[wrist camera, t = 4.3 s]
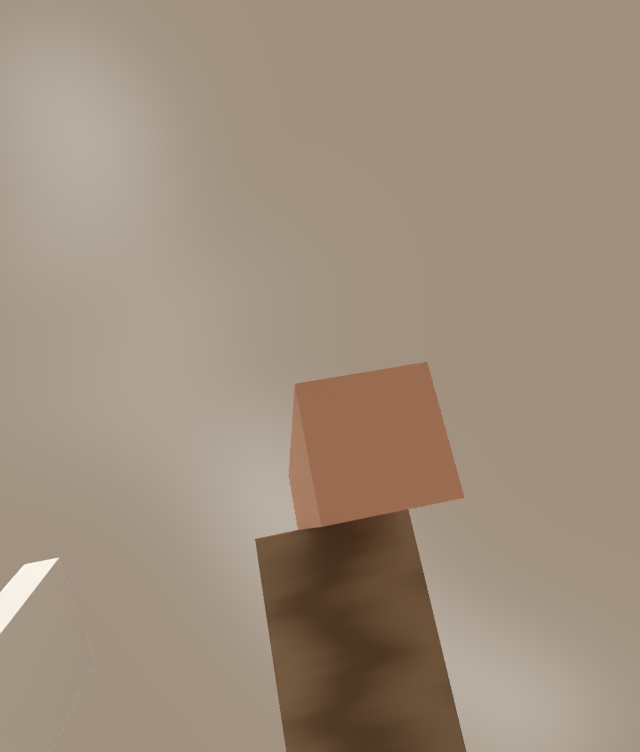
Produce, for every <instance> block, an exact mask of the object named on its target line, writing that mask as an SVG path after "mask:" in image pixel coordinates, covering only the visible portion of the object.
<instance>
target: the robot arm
mask: <svg viewBox="0 0 640 752" xmlns="http://www.w3.org/2000/svg"><path fill="white" fill-rule="evenodd" d="M95 661H96V659H95V656H94V654H93V651H92V648H91V645H90V642H89V639H88V637H87V634H86V631H85V628H84V625H83V623H82V620H81V617H80V615H79V612H78V609H77V606H76V603H75V600H74V598H73V595H72V592H71V589H70V586H69V583H68V581H67V578H66V575H65V572H64V569H63V567H62V564H61V561H60V558H54V559H50V560H45V561H40V562H35V563H30V564H25V565H24V566H23V567H22V568H21V569H20V570H19V571H18V573H17V574H16V575H15V576H14V577H13V578H12V580H11V581H10V582H9V583H8V584H7V585H6V587H4V589H3V590H2V591H1V592H0V752H52V751H53V748H54V747H55V744H56V742H57V740H58V738H59V736H60V734H61V732H62V730H63V728H64V726H65V724H66V722H67V720H68V717H69V715H70V713H71V711H72V709H73V707H74V705H75V703H76V701H77V699H78V697H79V695H80V693H81V690H82V688H83V686H84V684H85V682H86V680H87V678H88V676H89V674H90V672H91V670H92V668H93V666H94V663H95Z"/></svg>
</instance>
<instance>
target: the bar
mask: <svg viewBox="0 0 640 752" xmlns="http://www.w3.org/2000/svg"><path fill="white" fill-rule="evenodd" d="M289 480H290V486H291V492H292V497H293V503H294V509H295V515H296V520H297V526H298V530H300V529H308V528H317V527H324V526H328V525H333V524H338V523H343V522H348V521H353V520H358V519H363V518H368V517H372V516H377V515H382V514H387V513H392V512H397V511H402V510H407V509H411V508H417V507H421V506H426V505H431V504H436V503H441V502H445V501H451V500H456V499H461V498H464V495H463V491H462V487H461V484H460V480H459V477H458V473H457V469H456V465H455V462H454V458H453V454H452V451H451V447H450V444H449V440H448V436H447V433H446V429H445V426H444V422H443V418H442V415H441V411H440V407H439V403H438V400H437V396H436V392H435V389H434V386H433V382H432V378H431V374H430V371H429V367H428V363H427V362H424V363H418V364H412V365H406V366H400V367H394V368H389V369H382V370H376V371H371V372H364V373H358V374H352V375H346V376H340V377H334V378H328V379H322V380H316V381H309V382H303V383H297V384H295V389H294V404H293V419H292V435H291V449H290V464H289Z"/></svg>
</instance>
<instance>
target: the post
mask: <svg viewBox="0 0 640 752" xmlns="http://www.w3.org/2000/svg"><path fill="white" fill-rule="evenodd" d="M255 541H256V548H257V555H258V562H259V569H260V574H261V582H262V589H263V596H264V602H265V609H266V615H267V623H268V630H269V637H270V643H271V650H272V657H273V664H274V671H275V677H276V684H277V690H278V697H279V705H280V711H281V718H282V725H283V731H284V738H285V745H286V752H466V749H465V744H464V740H463V736H462V732H461V728H460V724H459V719H458V715H457V711H456V707H455V703H454V698H453V694H452V690H451V686H450V682H449V678H448V674H447V670H446V665H445V661H444V657H443V653H442V648H441V644H440V640H439V636H438V632H437V628H436V623H435V620H434V615H433V611H432V607H431V602H430V598H429V594H428V590H427V586H426V581H425V577H424V573H423V569H422V565H421V561H420V556H419V552H418V548H417V544H416V540H415V536H414V531H413V527H412V524H411V519H410V515H409V510H408V509H407V510H402V511H397V512H392V513H387V514H382V515H377V516H372V517H368V518H363V519H358V520H353V521H348V522H343V523H338V524H333V525H328V526H324V527H317V528H308V529H300V530H295V531H290V532H285V533H280V534H276V535H271V536H267V537H263V538H258V539H255Z"/></svg>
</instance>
